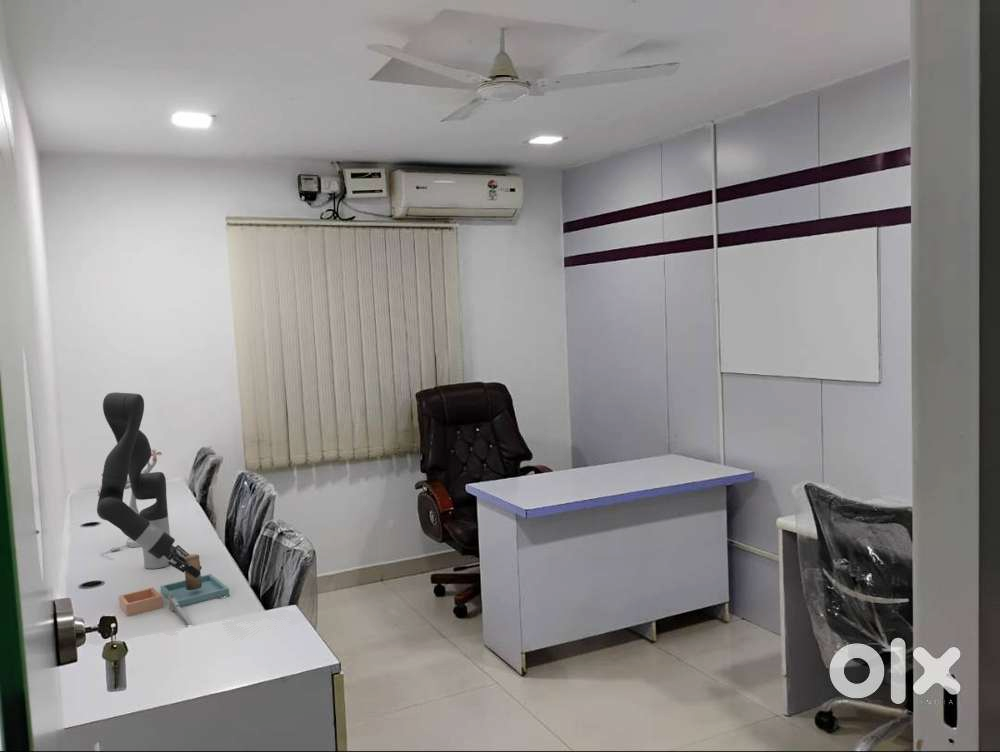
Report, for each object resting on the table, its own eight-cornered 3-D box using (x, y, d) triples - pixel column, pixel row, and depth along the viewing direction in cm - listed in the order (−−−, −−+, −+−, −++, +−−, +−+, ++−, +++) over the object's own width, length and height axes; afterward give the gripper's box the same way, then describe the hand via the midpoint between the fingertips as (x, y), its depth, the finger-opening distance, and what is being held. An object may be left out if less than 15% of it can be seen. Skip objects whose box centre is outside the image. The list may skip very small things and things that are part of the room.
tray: (160, 593, 259) (160, 586, 259) (211, 581, 269) (210, 573, 268) (176, 609, 245) (175, 601, 245) (229, 595, 254) (228, 588, 254)
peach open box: (119, 608, 248) (118, 595, 248) (154, 599, 254) (153, 587, 254) (127, 618, 240) (126, 605, 240) (162, 608, 246) (161, 596, 246)
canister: (184, 587, 257) (181, 556, 256) (199, 583, 260) (196, 553, 259) (188, 591, 253) (185, 560, 252) (203, 587, 256) (200, 556, 255)
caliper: (169, 611, 245) (166, 591, 244) (172, 610, 245) (170, 590, 244) (191, 631, 229) (189, 610, 228) (195, 630, 229) (193, 609, 229)
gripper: (160, 537, 246) (206, 570, 250) (165, 525, 259) (208, 556, 264) (143, 557, 245) (189, 589, 249) (149, 543, 258) (192, 574, 263)
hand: (199, 572), depth 257 cm, fingers closed on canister, 4 cm apart
